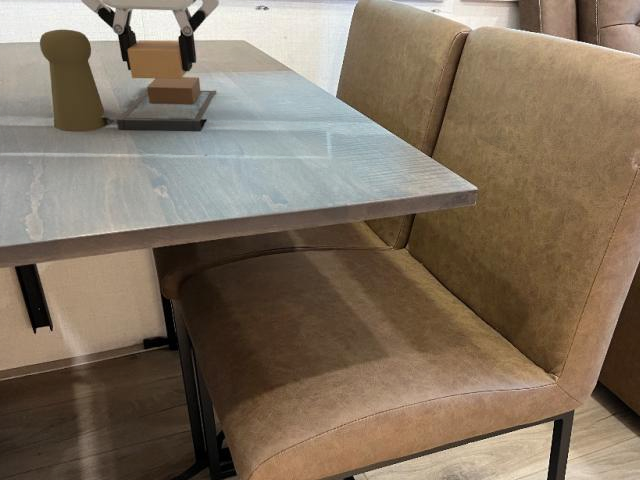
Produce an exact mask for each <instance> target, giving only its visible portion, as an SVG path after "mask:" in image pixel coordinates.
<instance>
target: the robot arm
mask: <svg viewBox="0 0 640 480" xmlns="http://www.w3.org/2000/svg"><path fill="white" fill-rule="evenodd" d="M80 1H81V3H82V4H84V6H86V7H87V8H89V9H90V10H91V11H92V12H93V13H95V14H96V15H98V18H100V19H101V20H102V21H103V22H104V23H105V24H107V25H108V26H109V27H110V28H111V29H112V31H113V32H114V33H115V34H116V35H117V39H118V44H119V50H120V56H121V60H122V62H126V66H127V70H128V71H131V68H130V62H129V56H128V49H129V48H130V47H132V46H133V45H134V44H136V43H137V42H138V41H137V35H136V32H134V30H132V27H131V20H132V15H133V10H146V11H147V10H151V11H172V13H173V15H174V17H175V20H176V22H177V24H178V26H179V28H180V30H179V33H180V35H178V37H177V40H178V42H179V48H180V53H181V61H182V68H183V70H184V71H187V72H190V71H191V69H192V68H193V64H196V63H197V52H196V43H195V36H194V33H195V32H196V30H198V28H199V27H201V25H202V23H203V22H205V20H206V19H207V18H208V17H209V16H210V15H211V14H212V13H213V12H214V11H215V10H216V9H217V7H218V6H219V5H220V1H219V0H201V1H202V4H201V6H200V7H199V8H198V9H197V10H196V11H195V12H194V13H193V15H192V14H191V12H190V10H189V8H190V6H192V5H193V4H195V3H196V2H197V0H80ZM113 9H115V11H114V10H113Z"/></svg>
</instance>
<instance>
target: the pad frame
mask: <svg viewBox="0 0 640 480" xmlns="http://www.w3.org/2000/svg"><path fill="white" fill-rule="evenodd" d="M200 91H201V93H208V95H207V96H206V98H205V100H204V102H203V103H202V105H201V107H200V108H199V110H198V112H197V114H196V115H195V117H194V118H165V117H164V118H161V117H160V118H159V117H157V118H155V117H128V116H129V115H130V114H131V113H132V112H133V111H134V110H135V109H136V108H137V106H138V105H139V104H140V103H141V102H142V101H143V100H144V99H145V98H146V97H147V96H148V91H147V88H146V89H145V90H144V91H143V92H142V93H141V94H140V95H139V96H138V97H137V98H136V99H135V100H134V101H133V102H132V103H131V105H130V106H129V107H127V109H125V111H124V112H123V113H122V114H121V115H120V116H119V117H118V118H117V119H116V123H117V128H118V131H142V132H143V131H144V132H145V131H146V132H147V131H149V132H153V131H154V132H202V130H203V128H204V126H205V124H206V122H207V121H208V119H207V118H203V116H204V115H205V112H207V109H208V107H209V105H210V104H211V102H212V100H213V98H214V96H215V95H216V93H217V90H200Z"/></svg>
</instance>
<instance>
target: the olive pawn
mask: <svg viewBox="0 0 640 480" xmlns="http://www.w3.org/2000/svg"><path fill="white" fill-rule="evenodd" d="M39 48H40V51H41V53H42V55H43V57H44V58H45V59H46V60H47V61H48V63H49V74H50V75H49V76H50V86H51V100H52V112H53V125H54V128H55V129H57V130H59V131H63V132H74V133H76V132H91V131H96V130H101V129H104V128H106V127H107V126H108V125H109V120H108V118H107V117H105V115H106V111H105V109H104V105H103V102H102V99H101V97H100V93H99V90H98V86H97V84H96V81H95V77H94V74H93V72H92V69H91V65H90V62H89V60H90V57H91V56H92V47H91V42H90V41H89V38H88V37H87V36H86V34H84V33H83V32H82V31H77V30H73V29H54V30H49V31H45V32H44V33H43V34H41V37H40V39H39Z"/></svg>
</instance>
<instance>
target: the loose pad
mask: <svg viewBox="0 0 640 480" xmlns="http://www.w3.org/2000/svg"><path fill="white" fill-rule="evenodd" d="M136 42H137V43H136V44H134V45H133V46H132V47H130V48H129V49H128V56H129V62H130V68H131V70H130V74H131V78H132V79H155V78H157V79H181V78H182V77H185V75H186V74H187V73H188V71H184V70H183V68H182V61H181V53H180V48H179V41H175V40H173V41H168V40H138V41H136Z"/></svg>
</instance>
